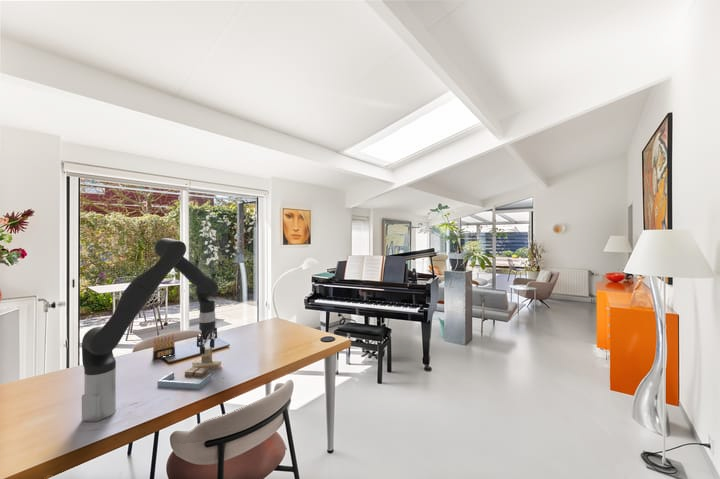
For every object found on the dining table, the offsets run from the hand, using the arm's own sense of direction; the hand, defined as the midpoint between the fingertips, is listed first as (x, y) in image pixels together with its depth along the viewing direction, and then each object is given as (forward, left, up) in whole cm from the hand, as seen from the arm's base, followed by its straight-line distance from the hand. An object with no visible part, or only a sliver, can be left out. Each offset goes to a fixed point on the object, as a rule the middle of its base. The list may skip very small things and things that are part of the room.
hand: (207, 350), depth 163 cm
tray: (-18, 0, -9) cm, 20 cm away
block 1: (-9, +3, -9) cm, 13 cm away
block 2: (-9, -2, -9) cm, 13 cm away
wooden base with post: (0, 0, -9) cm, 9 cm away
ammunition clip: (+9, +31, -9) cm, 34 cm away
